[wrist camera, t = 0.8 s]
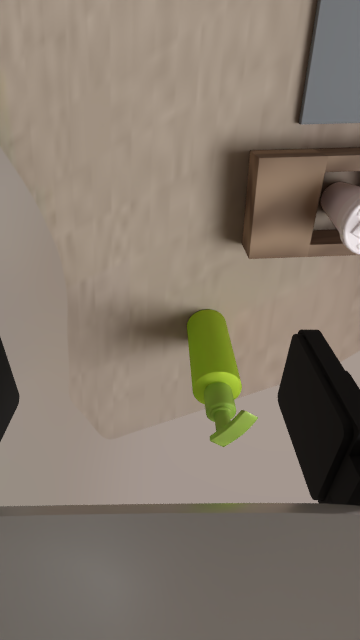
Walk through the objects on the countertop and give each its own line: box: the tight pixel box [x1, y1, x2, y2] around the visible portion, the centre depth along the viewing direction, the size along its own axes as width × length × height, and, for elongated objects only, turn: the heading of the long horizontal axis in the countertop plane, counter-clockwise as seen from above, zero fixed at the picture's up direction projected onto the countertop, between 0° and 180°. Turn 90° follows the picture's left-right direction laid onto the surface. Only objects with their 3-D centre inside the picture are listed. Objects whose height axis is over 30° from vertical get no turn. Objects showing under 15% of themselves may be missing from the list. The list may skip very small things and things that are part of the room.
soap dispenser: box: [187, 310, 258, 447], centre depth 44 cm, size 6×7×20 cm
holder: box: [242, 147, 360, 259], centre depth 40 cm, size 11×22×4 cm, turn 91°
